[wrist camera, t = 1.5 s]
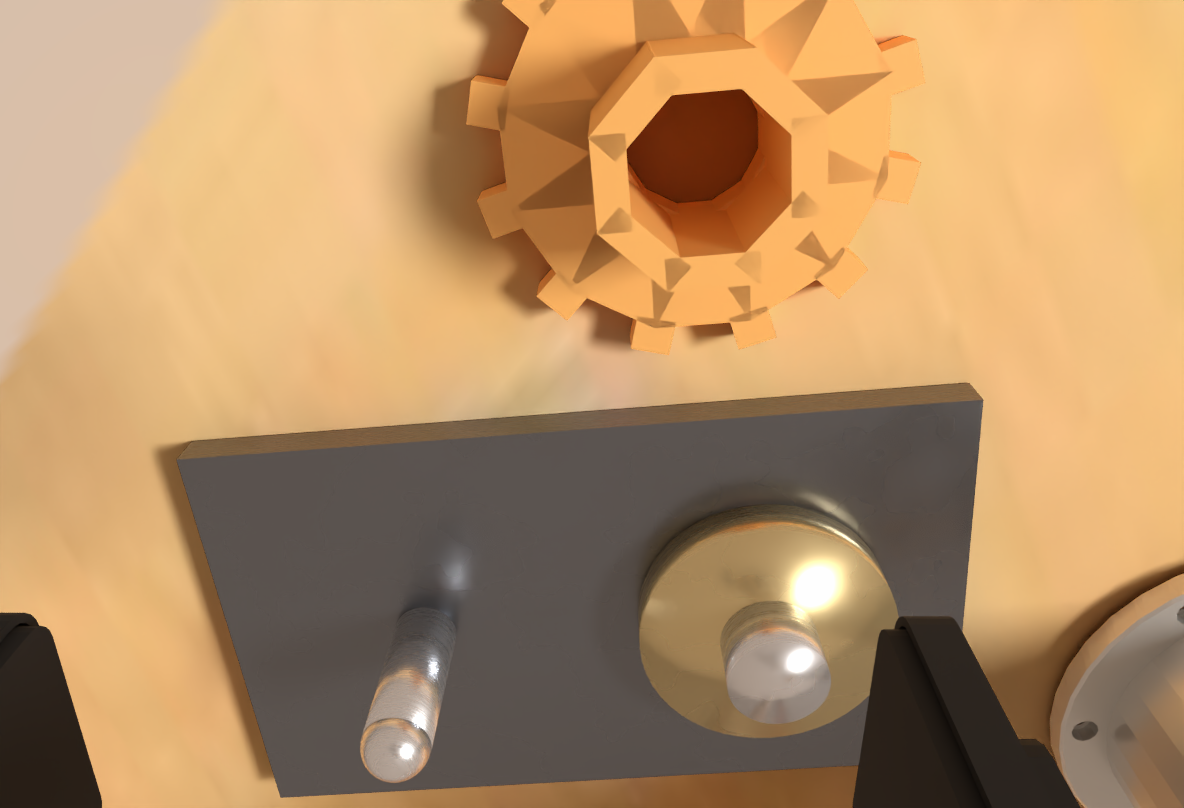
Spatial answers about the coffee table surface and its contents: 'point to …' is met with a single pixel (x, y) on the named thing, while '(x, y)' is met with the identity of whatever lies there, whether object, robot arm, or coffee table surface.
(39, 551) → the coffee table surface
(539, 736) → the carrier plate
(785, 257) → the planet gear
